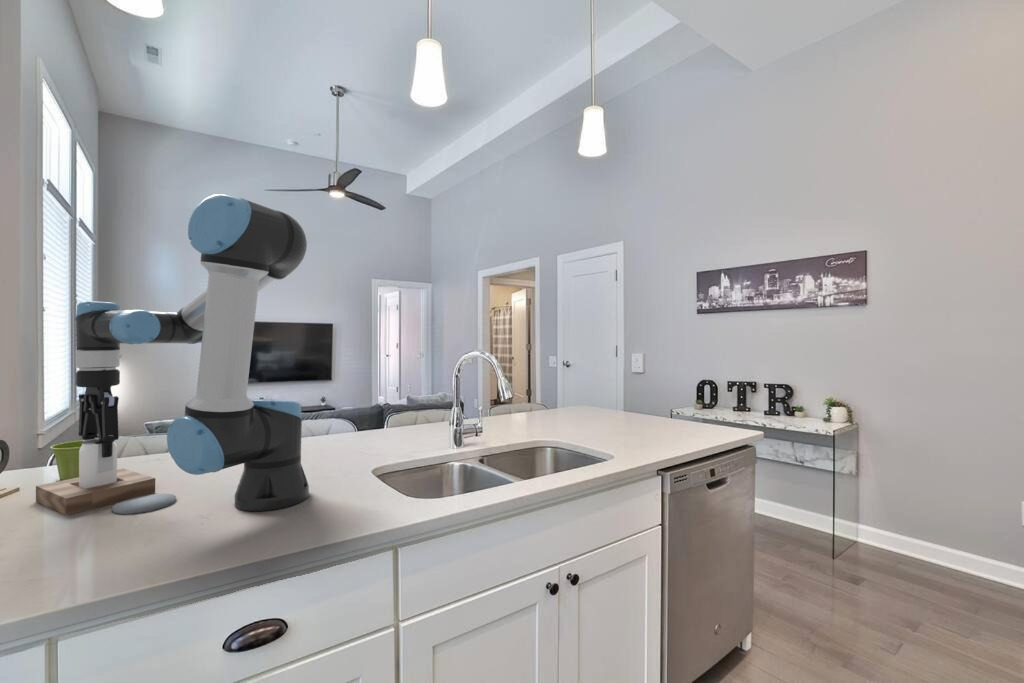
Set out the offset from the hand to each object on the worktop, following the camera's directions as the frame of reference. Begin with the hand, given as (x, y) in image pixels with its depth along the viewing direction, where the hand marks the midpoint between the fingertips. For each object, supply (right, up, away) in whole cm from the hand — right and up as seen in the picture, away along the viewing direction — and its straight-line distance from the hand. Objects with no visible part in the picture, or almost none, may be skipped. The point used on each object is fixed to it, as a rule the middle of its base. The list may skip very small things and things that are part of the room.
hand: (98, 468), depth 106 cm
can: (0, -6, 0) cm, 6 cm away
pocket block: (0, -7, 0) cm, 7 cm away
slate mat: (+14, -7, -4) cm, 16 cm away
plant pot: (-19, -7, +15) cm, 25 cm away
